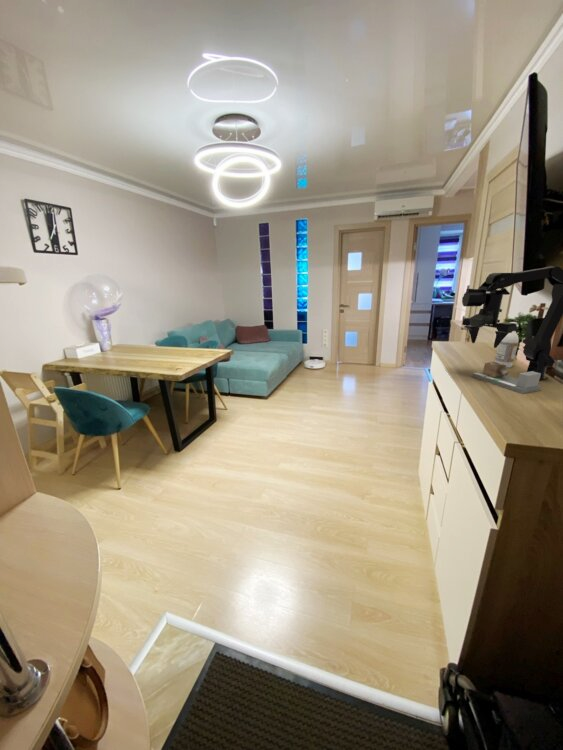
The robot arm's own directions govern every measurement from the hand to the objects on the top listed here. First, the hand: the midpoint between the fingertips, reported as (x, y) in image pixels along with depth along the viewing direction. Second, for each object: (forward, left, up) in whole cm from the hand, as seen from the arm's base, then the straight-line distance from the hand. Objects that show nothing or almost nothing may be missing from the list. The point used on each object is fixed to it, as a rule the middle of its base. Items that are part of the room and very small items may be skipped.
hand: (483, 345), depth 125 cm
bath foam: (-24, -6, -13) cm, 28 cm away
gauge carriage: (-1, +7, -11) cm, 13 cm away
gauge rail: (-2, +10, -13) cm, 17 cm away
